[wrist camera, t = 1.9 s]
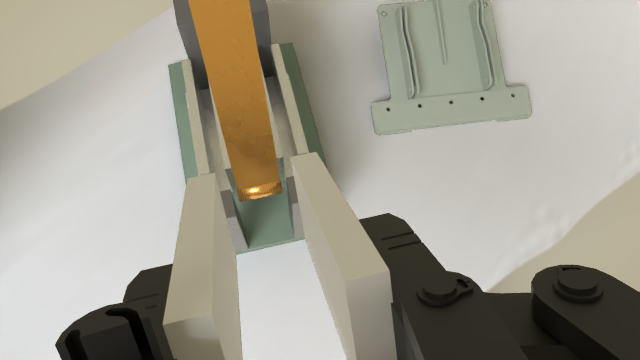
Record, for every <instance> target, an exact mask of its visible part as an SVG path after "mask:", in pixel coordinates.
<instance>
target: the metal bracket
mask: <svg viewBox="0 0 640 360" xmlns="http://www.w3.org/2000/svg"><path fill="white" fill-rule="evenodd" d="M483 2H484V3H486V5H487V6H486V7H484V4H483ZM377 12H378V19H379V25H380V32H381V38H382V44H383V51H384V57H385V64H386V70H387V77H388V83H389V90H390V96H391V97H390V100H387V101H378V102H373V103H372V104H371V111H372V118H373V124H374V131H375V133H376V134H377V135H387V134H396V133H405V132H411V131H412V130H414V129H423V128H431V127H440V126H448V125H457V124H465V123H474V122H483V121H491V120H496V121H498V122H500V121H509V120H517V119H526V118H529V117H530V116H531V112H532V110H531V105H530V100H529V94H528V89H527V88H526V87H525V86H523V85H521V86H512V87H507V86H506V85H505V81H504V75H503V70H502V64H501V59H500V54H499V48H498V43H497V37H496V32H495V26H494V21H493V15H492V10H491V5H490V0H429V1H418V2H408V3H397V4H387V5H379V6H378V8H377ZM382 12H385V13H386V14H387V15H386V16H382ZM511 94H514V97H512V96H511ZM481 97H482V98H483V99H484V100H483V101H482V100H481V99H480V98H481ZM449 101H452V102H453V104H450V103H449ZM419 104H420V105H421V106H422V107H421V108H419V107H418V105H419ZM386 108H389V109H390V111H387V110H386Z"/></svg>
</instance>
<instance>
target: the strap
mask: <svg viewBox="0 0 640 360" xmlns="http://www.w3.org/2000/svg"><path fill="white" fill-rule="evenodd" d="M188 2H189V6H190V10H191V14H192V17H193V21H194V25H195V29H196V33H197V37H198V41H199V45H200V48H201V52H202V56H203V60H204V64H205V68H206V72H207V75H208V79H209V83H210V87H211V91H212V95H213V99H214V103H215V106H216V110H217V114H218V118H219V122H220V126H221V130H222V134H223V137H224V141H225V145H226V149H227V153H228V157H229V161H230V165H231V168H232V172H233V176H234V180H235V184H236V188H237V192H238V196H239V200H240V202H244V201H248V200H253V199H258V198H262V197H267V196H272V195H276V194H281V193H283V191H282V185H281V181H280V175H279V169H278V163H277V158H276V152H275V146H274V140H273V135H272V129H271V123H270V118H269V112H268V106H267V100H266V95H265V89H264V83H263V77H262V72H261V66H260V60H259V55H258V49H257V43H256V37H255V32H254V26H253V20H252V14H251V9H250V3H249V0H188Z"/></svg>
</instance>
